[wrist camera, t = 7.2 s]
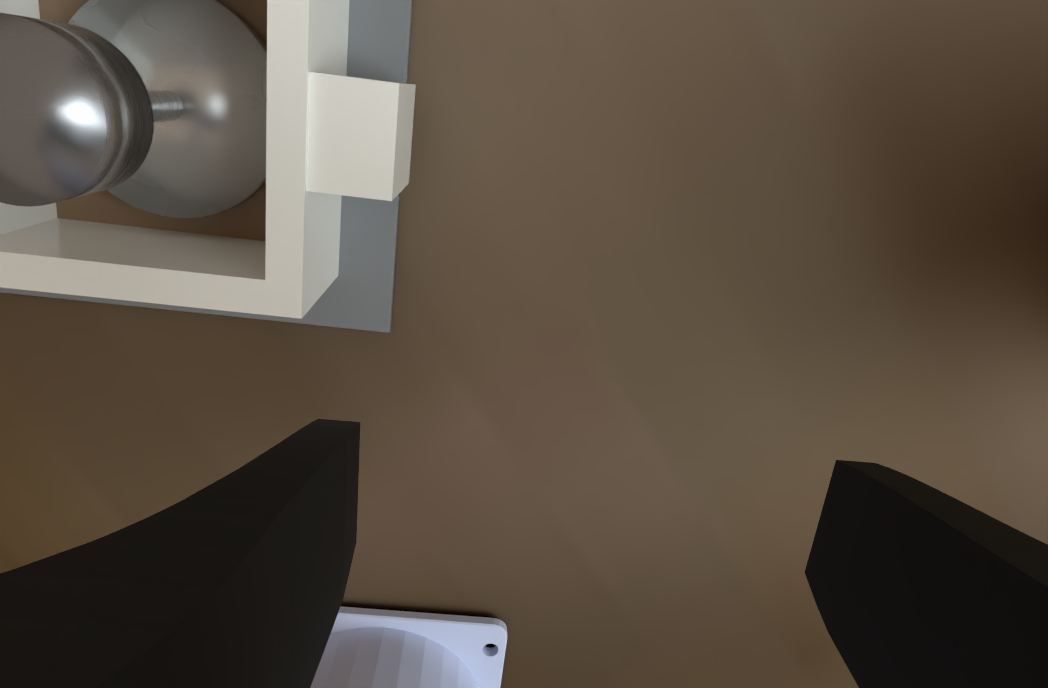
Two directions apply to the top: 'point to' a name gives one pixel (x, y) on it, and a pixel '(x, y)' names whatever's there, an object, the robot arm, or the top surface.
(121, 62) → the plunger
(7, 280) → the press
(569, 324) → the top surface
